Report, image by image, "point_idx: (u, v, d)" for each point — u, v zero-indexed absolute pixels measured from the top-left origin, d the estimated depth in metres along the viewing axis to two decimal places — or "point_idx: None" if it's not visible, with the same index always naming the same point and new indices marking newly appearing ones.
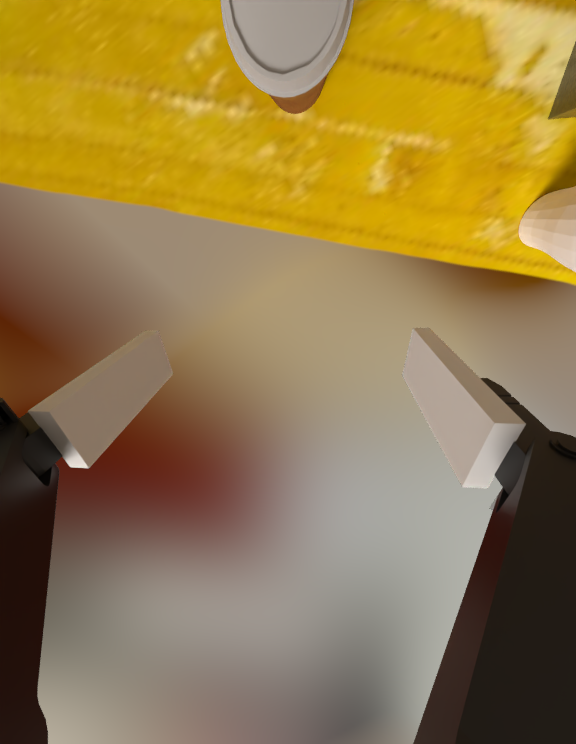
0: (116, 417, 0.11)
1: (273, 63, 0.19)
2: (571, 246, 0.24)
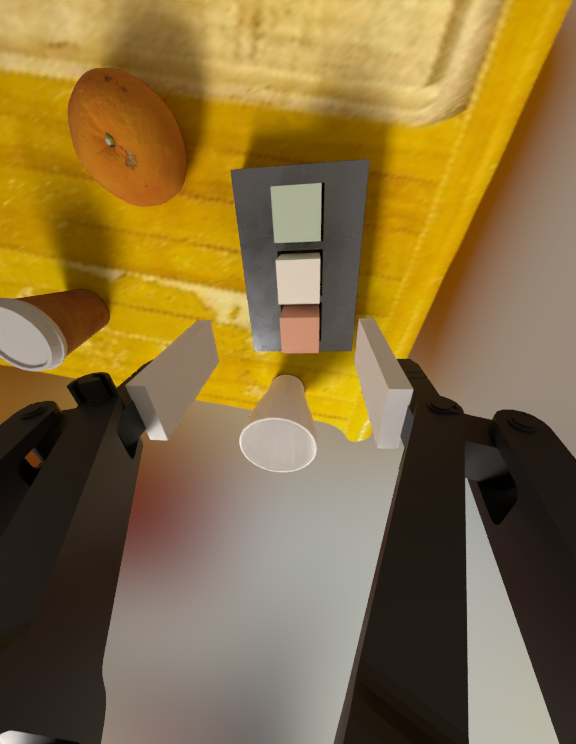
0: (184, 397, 0.12)
1: (25, 362, 0.32)
2: None
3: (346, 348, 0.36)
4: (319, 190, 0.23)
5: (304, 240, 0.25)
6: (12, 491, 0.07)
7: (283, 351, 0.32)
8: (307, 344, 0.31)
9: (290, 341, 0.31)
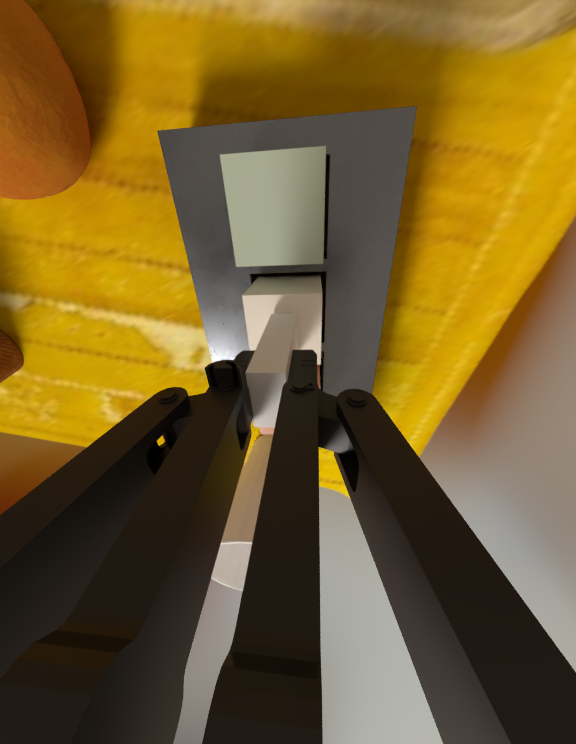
0: None
1: None
2: None
3: None
4: (321, 162, 0.11)
5: (292, 262, 0.13)
6: (138, 475, 0.07)
7: (263, 431, 0.20)
8: None
9: None
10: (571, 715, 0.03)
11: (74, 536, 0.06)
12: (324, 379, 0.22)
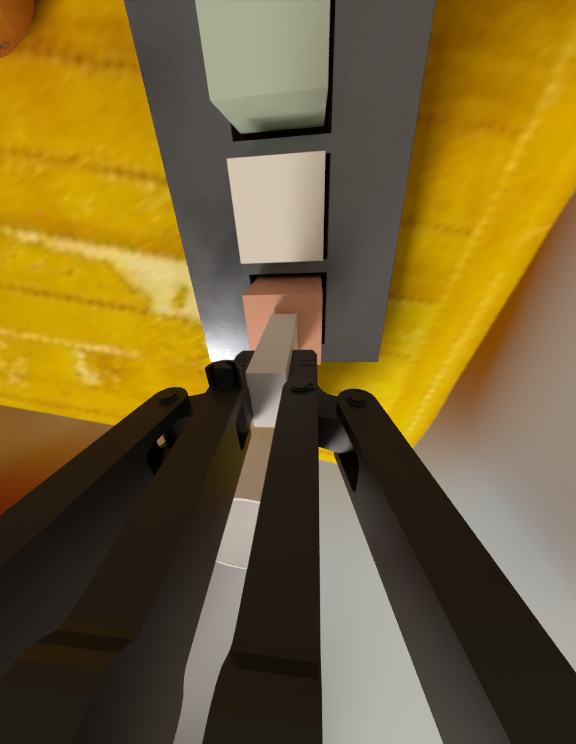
0: None
1: None
2: None
3: (368, 358, 0.20)
4: None
5: (285, 87, 0.10)
6: (138, 475, 0.07)
7: None
8: (299, 347, 0.16)
9: None
10: (571, 715, 0.03)
11: (74, 536, 0.06)
12: (327, 311, 0.19)
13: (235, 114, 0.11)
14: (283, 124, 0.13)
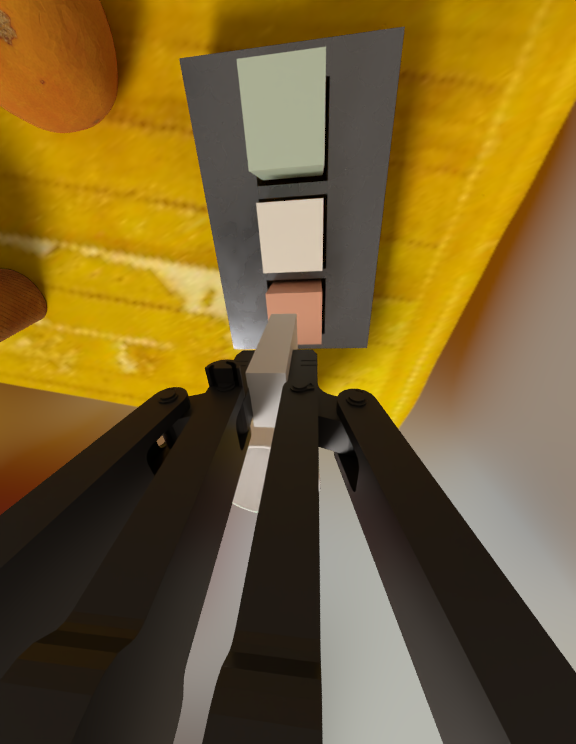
0: None
1: None
2: None
3: (359, 345, 0.26)
4: (322, 63, 0.13)
5: (297, 164, 0.15)
6: (138, 475, 0.07)
7: None
8: (305, 331, 0.22)
9: None
10: (571, 715, 0.03)
11: (74, 536, 0.06)
12: (326, 308, 0.24)
13: (262, 174, 0.17)
14: (294, 176, 0.19)
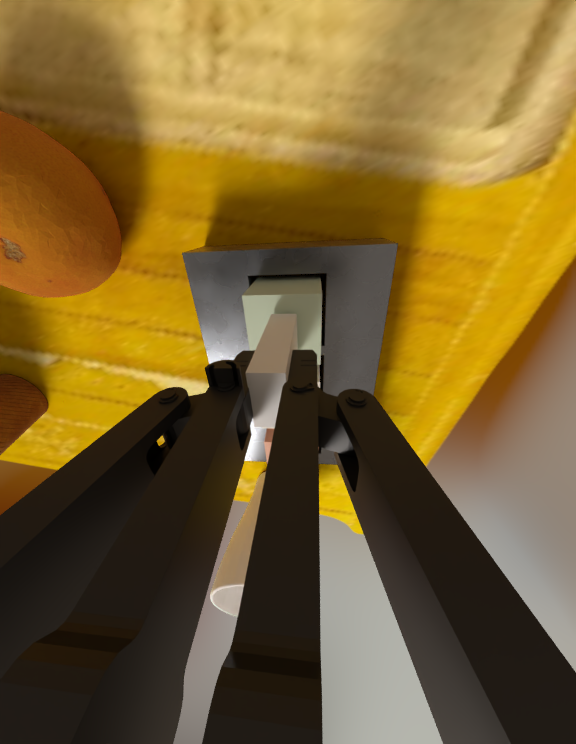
0: None
1: None
2: None
3: None
4: (318, 303, 0.14)
5: None
6: (138, 475, 0.07)
7: None
8: None
9: None
10: (572, 715, 0.03)
11: (74, 536, 0.06)
12: None
13: None
14: None
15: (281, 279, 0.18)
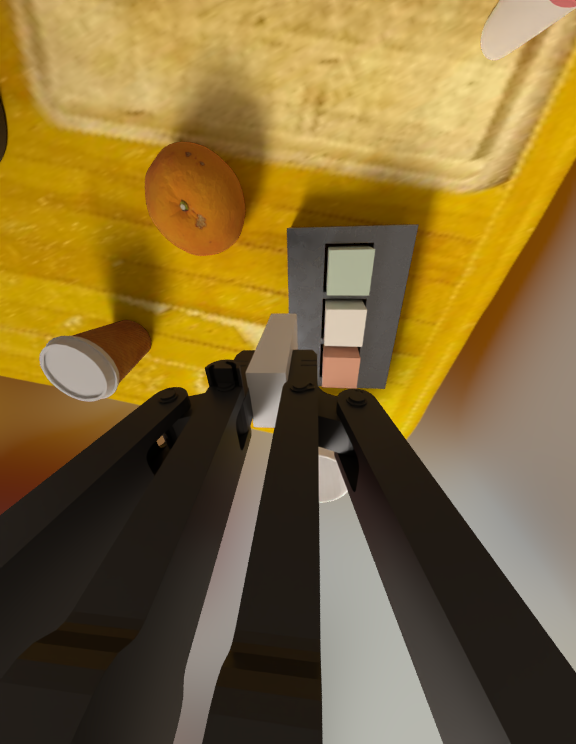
0: None
1: (79, 392, 0.34)
2: None
3: (379, 386, 0.37)
4: (372, 255, 0.26)
5: (354, 294, 0.28)
6: (138, 475, 0.07)
7: (323, 385, 0.35)
8: (346, 380, 0.34)
9: (331, 377, 0.34)
10: (571, 715, 0.03)
11: (74, 536, 0.06)
12: None
13: None
14: None
15: (344, 246, 0.29)
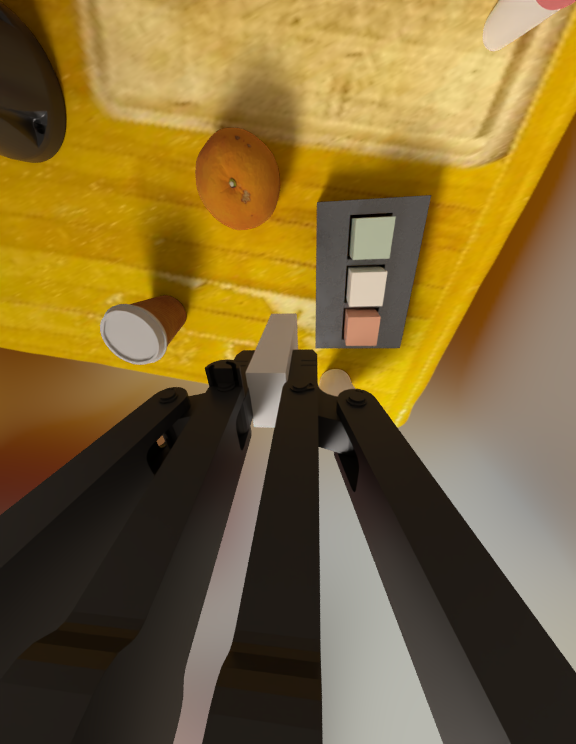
0: None
1: (132, 357, 0.39)
2: None
3: (395, 346, 0.42)
4: (393, 221, 0.30)
5: (376, 258, 0.33)
6: (138, 475, 0.07)
7: (347, 344, 0.39)
8: (368, 338, 0.39)
9: (354, 336, 0.39)
10: (571, 715, 0.03)
11: (74, 536, 0.06)
12: None
13: None
14: None
15: (366, 217, 0.34)
